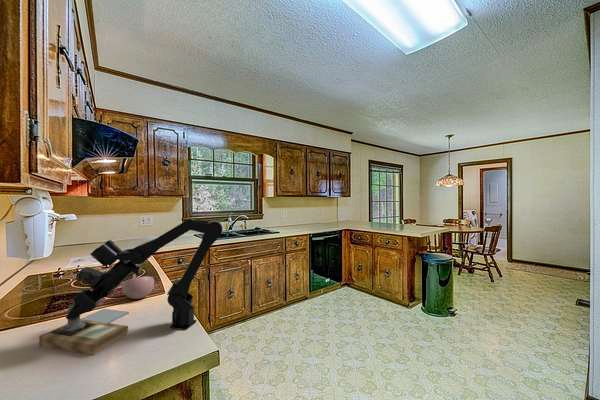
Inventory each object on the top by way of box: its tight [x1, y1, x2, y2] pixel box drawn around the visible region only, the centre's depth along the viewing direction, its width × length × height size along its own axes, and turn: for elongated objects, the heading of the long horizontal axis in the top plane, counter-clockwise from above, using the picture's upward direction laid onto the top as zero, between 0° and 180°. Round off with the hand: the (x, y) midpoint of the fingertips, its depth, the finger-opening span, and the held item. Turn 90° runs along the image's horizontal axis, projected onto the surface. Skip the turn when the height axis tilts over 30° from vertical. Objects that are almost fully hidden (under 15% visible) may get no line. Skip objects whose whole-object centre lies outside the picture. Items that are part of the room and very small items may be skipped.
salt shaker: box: [61, 300, 86, 336], centre depth 84 cm, size 6×6×12 cm
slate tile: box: [80, 308, 130, 324], centre depth 97 cm, size 12×12×1 cm
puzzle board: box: [38, 318, 129, 356], centre depth 82 cm, size 20×12×3 cm, turn 78°
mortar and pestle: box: [122, 273, 155, 300], centre depth 117 cm, size 12×12×12 cm
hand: (74, 312), depth 84 cm, fingers open, 9 cm apart
